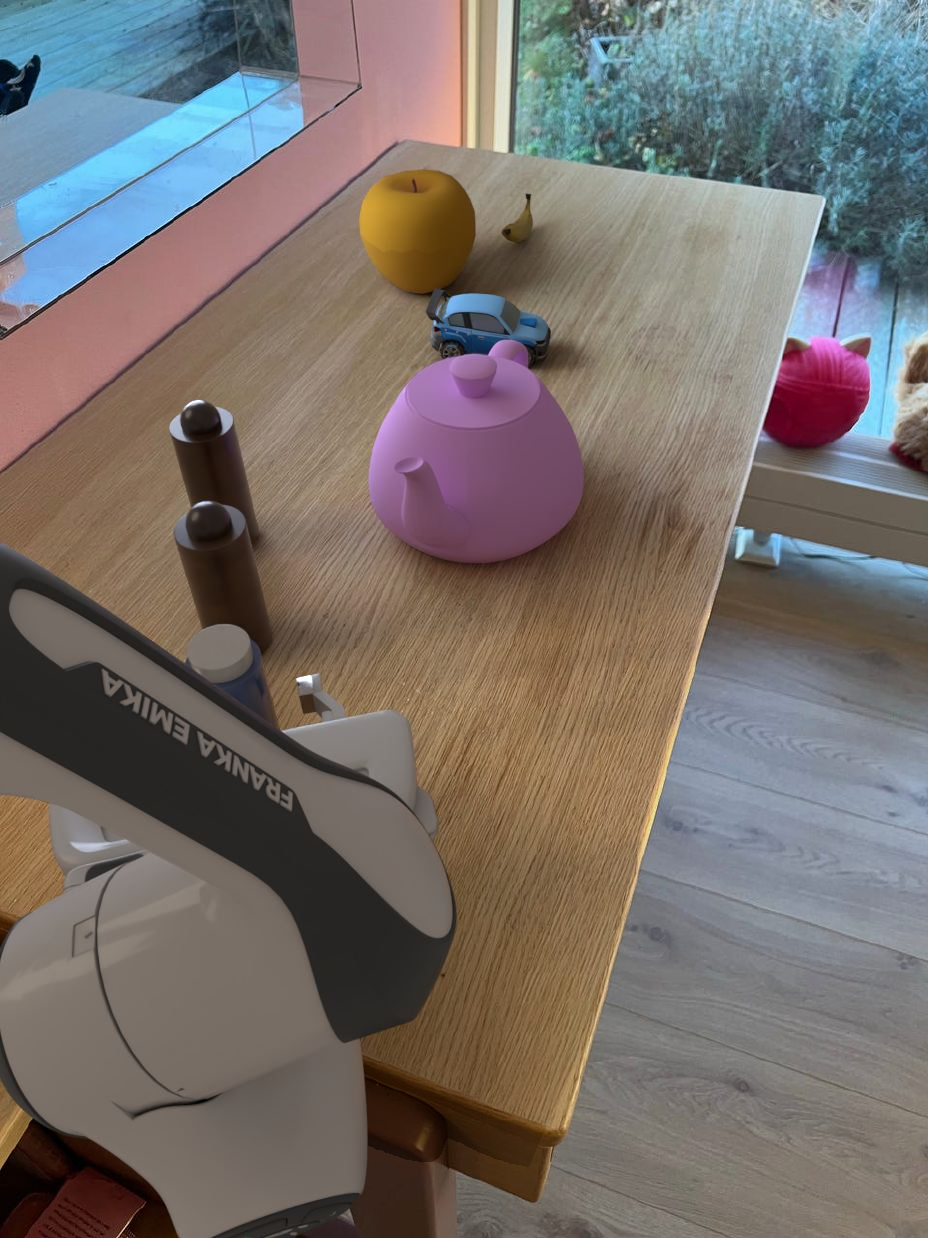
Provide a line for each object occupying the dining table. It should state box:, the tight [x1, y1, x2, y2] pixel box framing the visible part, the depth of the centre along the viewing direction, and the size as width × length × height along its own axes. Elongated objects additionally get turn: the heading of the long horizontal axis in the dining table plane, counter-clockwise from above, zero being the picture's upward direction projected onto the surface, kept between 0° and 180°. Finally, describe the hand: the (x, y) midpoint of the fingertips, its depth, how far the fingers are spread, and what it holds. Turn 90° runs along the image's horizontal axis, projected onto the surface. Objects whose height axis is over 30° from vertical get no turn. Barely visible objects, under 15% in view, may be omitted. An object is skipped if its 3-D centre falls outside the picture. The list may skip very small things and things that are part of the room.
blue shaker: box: [184, 624, 281, 730], centre depth 62 cm, size 4×4×12 cm
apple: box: [358, 169, 477, 295], centre depth 110 cm, size 13×13×11 cm
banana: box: [501, 192, 534, 244], centre depth 118 cm, size 10×2×4 cm, turn 163°
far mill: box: [168, 399, 260, 545], centre depth 79 cm, size 5×5×13 cm
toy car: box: [425, 288, 552, 367], centre depth 100 cm, size 6×12×6 cm, turn 80°
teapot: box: [368, 340, 585, 564], centre depth 79 cm, size 25×18×14 cm
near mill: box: [173, 501, 274, 656], centre depth 70 cm, size 5×5×13 cm
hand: (232, 695), depth 61 cm, fingers open, 8 cm apart
